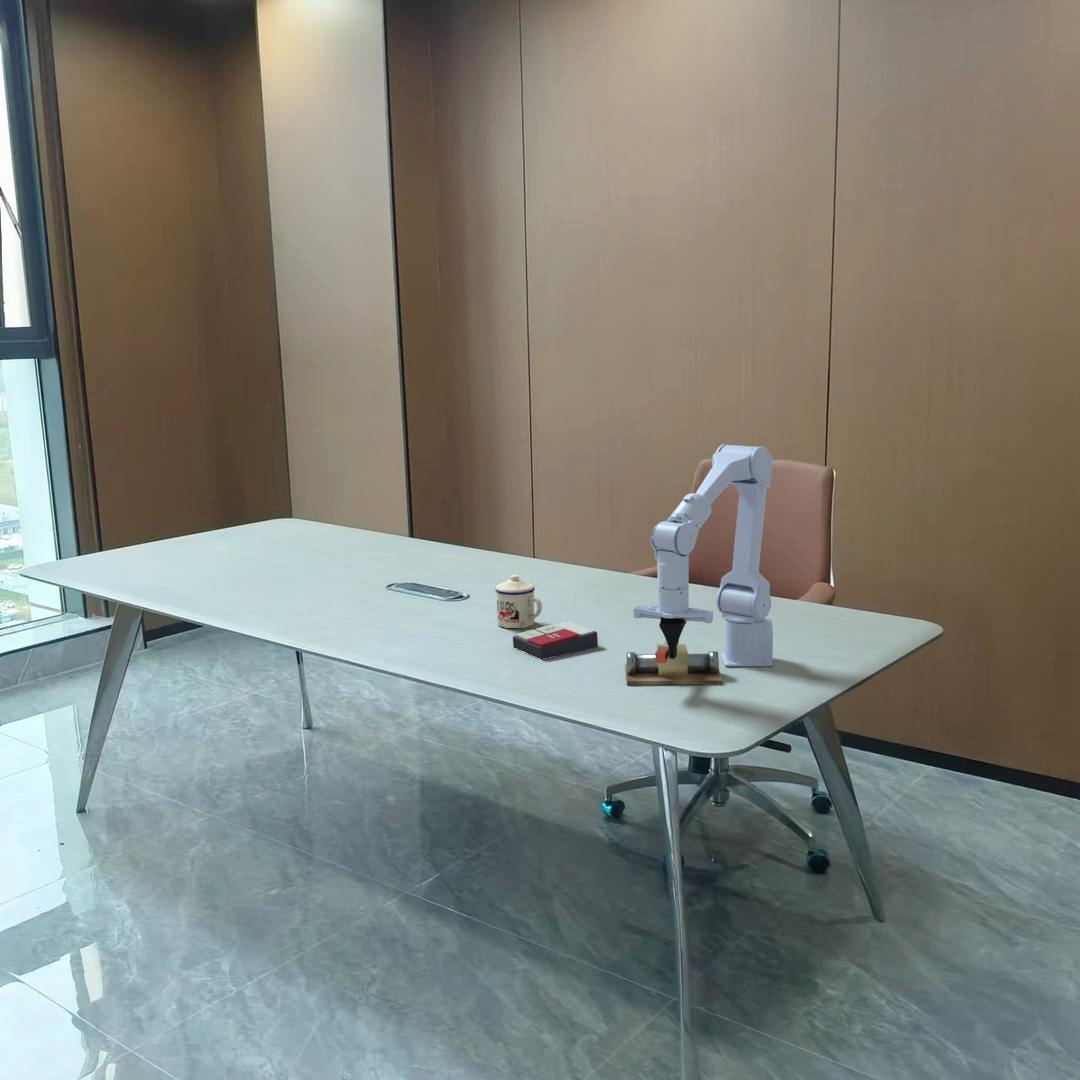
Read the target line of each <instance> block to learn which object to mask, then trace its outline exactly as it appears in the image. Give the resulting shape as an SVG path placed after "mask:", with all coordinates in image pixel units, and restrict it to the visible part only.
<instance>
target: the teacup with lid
mask: <svg viewBox="0 0 1080 1080" xmlns="http://www.w3.org/2000/svg"><path fill="white" fill-rule="evenodd" d="M509 578H510V579H507V580H505V581H504V582H502V583H499V584H498V585H496V587H495V592H496V614H497V618H496V619H497V625H498V627H500V626H501V627H500V628H502V627H505V628H504V629H507V628H522V629H527V628H530V627H532V626H533V625H534V624H535V618H537V617H539V616H540V615H541V613H542V609H543V605H542V602H541V601H542V600H541V599H539V598H538V597H536V596H535V594H534V593H535V592H534V591H535V585H534V584H533V583H530V582H526V581H525V580H523V579H520V577H519V575H518V574H513V575H510V577H509ZM535 603H536V607H537V608H536V611H535ZM526 627H527V628H526Z"/></svg>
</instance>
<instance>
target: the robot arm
mask: <svg viewBox="0 0 1080 1080" xmlns="http://www.w3.org/2000/svg"><path fill="white" fill-rule="evenodd" d="M711 460H712V462H711V466H712V468H710V470H709V472H708V474H706V477H705V478H704V480H703V481H702V483H701V484H700V486H699V487H698V489H697V491H696V492H695V493H694V492H693V493H688V494H686V495H684V497H683V498H682V499H683V500H681V502H680V503H679V504H678V506H677V507H676V508H675V509H674V510H673V512H672V513H671V514H670V515H669V517H668V519H666V520H664V521H660V522H659V523H657V524H656V525H655V526H654V528H653V530H652V534H651V537H650V539H649V541H650V545H651V548H652V550H653V552H654V559H655V561H656V562H657V571H656V572H657V573H656V574H657V578H656V579H657V581H656V582H657V605H636V606H634V607H633V618H634V619H656V620H657V619H658V620H660V622H659V625H658V626H659V629H660V630H661V632H662V633H663V636H664V638H666V641H667V644H668V647H669V659H675V658H676V656H677V644H678V641H679V642H680V637H681V635H682V632H683V629H684V628H685V626H686V624H687V622H701V623H705V624H712V623H713V621H714V620H713V619H714V618H713V617H714V610H707V609H701V608H695V607H689V606H690V605H689V603H690V602H689V599H690V598H689V597H690V596H689V594H690V593H689V590H690V589H689V585H690V584H689V578H690V577H689V576H690V575H689V571H690V570H689V569H690V567H689V566H690V565H689V564H690V562H689V561H690V557H689V555H690V553H691V552H692V551H693V550H694V548H695V545H696V541H697V537H698V536H699V531H700V529H701V528H702V526H703V525H704V523H705V522H706V521H707V519H709V517H710V515H711V514H712V512H713V511H712V510H713V509H712V506H711V504H713V502H714V501H715V500H716V499H717V498H718V497H719V496H720V494H722V493H723V491H724V490H726V488H727V487H728V486H729V485H732V486H734V487H735V489H736V490H737V491H738V495H739V496H738V505H737V515H736V526H735V527H736V528H735V537H734V538H735V539H734V545H733V558H732V565H731V566H732V570H730V571H729V572H728V573H726V574H725V575H723V576H722V577H721V579H720V584H719V585H720V586H719V589H718V591H717V593H716V597H715V599H716V600H715V603H716V607H717V611H718V612H719V613H721V618H723V619H724V620H725V621H724V652H721V653H720V656H721V658H722V662H723V663H724V666H725V667H773V666H774V664H773V663H774V662H773V659H774V657H773V654H774V653H773V651H774V650H773V646H774V632H773V623H772V620H771V619H770V618H767V616H768V615H769V614H770V611H771V607H772V598H771V594H770V592H771V591H770V590H771V589H770V587H771V583H770V582H769V581H768V580H767V579H766V578H765V577H764V576H763V575H762V574H761V572H759V570H760V559H761V550H762V541H763V539H762V538H763V531H764V530H763V529H764V520H765V508H766V501H767V499H766V497H767V489H768V488H770V487H771V479H772V471H773V470H772V469H773V468H772V467H773V457H772V454H770V451H769V450H768V449H767V447H765V446H762V445H761V446H751V445H750V446H748V445H732V444H728V443H722V444H721V445H719V447H718V448H717V449H716V450H715V453H714V454H713V455H712V459H711Z"/></svg>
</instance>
